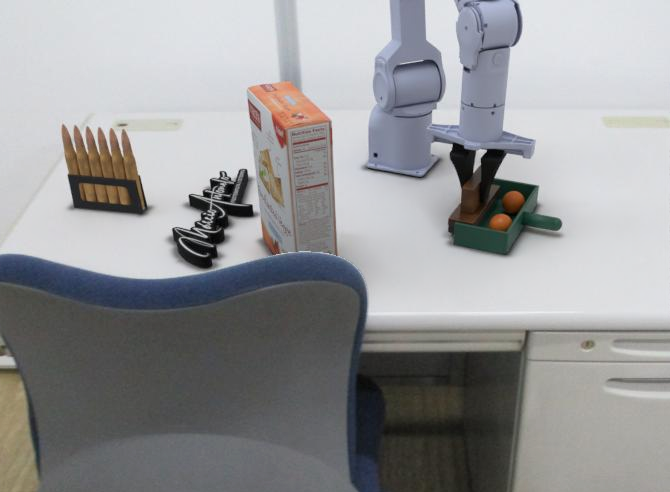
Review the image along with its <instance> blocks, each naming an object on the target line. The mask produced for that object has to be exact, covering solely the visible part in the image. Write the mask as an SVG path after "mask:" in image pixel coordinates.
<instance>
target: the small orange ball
mask: <svg viewBox="0 0 670 492" xmlns="http://www.w3.org/2000/svg"><path fill="white" fill-rule="evenodd" d="M511 224H512V220H511V218H510V217H509V216H507V215H505V214H497V215H495V216H494V217H493V218H492V219H491V220H490V223H489V229H493V230H499V231H504V232H507V231H508V229H509V227H510V226H511Z"/></svg>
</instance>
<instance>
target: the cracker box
mask: <svg viewBox="0 0 670 492" xmlns="http://www.w3.org/2000/svg"><path fill="white" fill-rule="evenodd" d="M246 96H247V106H248V113H249V114H248V117H249V125H250V131H251V141H252V151H253V159H254V169H255V177H256V178H255V179H256V186H257V187H256V188H257V196H258V205H259V206H258V207H259V213H260V214H259V215H260V224H261V233H262V239H263V241H264V243H265V244H266V245H267V247H268V248H269V250H270V251H271V253H272V254H273V256H275V255H276V254H281V253H288V252H299V251H311V252H323V253H329V254H333V255H336V256H338V238H337V236H338V235H337V216H336V215H337V214H336V213H337V212H336V211H337V210H336V191H335V189H336V188H335V169H334V168H335V165H334V144H333V143H334V141H333V140H334V139H333V124H332V123H333V122H332V119H331V118H330V117H329V116H328V115H327V114H326V113H325V112H323V111H322V110H321V109H320V108H319V107H318V106H317V105H316V104H315V103H314V102H313V101H311V100H310V98H308V97H307V96H306V95H305V94H304V93H303V92H302V91H301V90H300V89H299V88H298V87H296V86H295V85H294V84H293V82H291V81H290V80H285V81H280V82H274V83H273V82H272V83H262V84H257V85H252V86H249V87H246Z"/></svg>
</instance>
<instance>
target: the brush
mask: <svg viewBox="0 0 670 492" xmlns="http://www.w3.org/2000/svg"><path fill="white" fill-rule="evenodd" d="M480 187H481V164H480V165H478V167H477V168H476V169H475V171H473V174H472V176H471V177H470V178H469V179H468V181H467V182H466V183H465V184H464V186H463V187H462V190H461V192H460V193H461V194H460V203H459V204H458V205H457V207H456V208H455V209H454V210H453V211H452V213H451V214H449V215H450V216H448V218H447V233H450V234H451V233H452V234H454V228H455V223H456V222H457V223H462V224H467V225H473V226H478V227H480V226H481V225H482V223H483V222H484V220H485V219H486V218H487V216H488V215H489V213H490V212H491V211H492V209H493V208H494V206H495V205H496V203H497V202H498V200H499V193H500V186H498V185H493V184H492V185H491V188H490V192H489V196H488V199H487V200H486V202H485V203H479V194H480Z"/></svg>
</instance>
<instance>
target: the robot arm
mask: <svg viewBox="0 0 670 492" xmlns="http://www.w3.org/2000/svg"><path fill="white" fill-rule="evenodd" d="M453 1H454V3H455V6H456V8H457V12H458V17H457V20H456V21H455V32H456V38H457V43H458V47H459V48H458V49H459V51H458V59H459V63H460V64H461V65H462V74H461V75H462V77H461V91H460V105H459V106H460V108H459V123H458V124H438V123H433V111H434V110H435V111H436V110H437V109H438V103H440V102H441V101H442V100H443V98H444V95H445V93H446V88H447V78H446V72H445V70H444V66H443V58H442V52H441V51H440V49H438V48H437V47H436V46H435V45H433V44H432V43H431V42H430V41H428V39H427V24H426V23H427V22H426V0H389V15H390V17H389V18H390V32H391V33H390V34H391V39H390V41H389V42H388V43H387V44H386V45H385V46H384V47H383V48H382V49H381V50H380V51H379V52H378V53H377V54H376V55H375V57H374V73H373V74H374V75H373V78H372V90H373V92H372V93H373V96H374V99H375V102H376V103H377V104H375V105H374V106H373V108H372V109H371V112H370V114H369V118H368V119H369V120H368V125H367V127H368V129H367V130H368V131H367V132H368V133H367V134H368V135H367V137H368V138H367V139H368V141H367V142H368V143H367V144H368V147H367V148H368V163H367V164H366V168H367V169H368V168H369V169H372V170H373V169H374V170H379V171H384V172H390V173H396V174H401V175H406V176H413V177H419V178H421V177H424V176H425V175H426V174H427V173H428V171H429V170H430V169H431V168H432V167H433V166H434V164H435V163H436V162H437V161H438V160H439V159H440V156H439V155H438V154H432V153H431V152H432V144H434V143H441V144H447V145H452V147H451V150H450V151H449V160H450V162H451V163H452V165H453V168H454V169H455V171H456V175H457V178H458V181H459V185H460V189H461V191H462V187H463V186H464V184H465V183H466V182H467V181H468V179H469V178H470V177H471V176H472V174H473V173H474V168H475V162H476V156H477V151H479V150H485V152H484V153H483V155H482V156H481V157H480V165H481V187H480V194H479V203H485V202H486V200H487V199H488V196H489V192H490V188H491V185H492V183H493V180H494V178H496V175H497V173H498V171H499V169H500V167H501V165H502V163H503V161H504V160H505V158H506V156H507V154H509V155H515V156H521V157H522V158H523V159H526V160H531V159H532V158H533V156H534V155H535V149H536V142H537V141H536V139H534V138H528V137H524V136H521V135H518V134H515V133H511V132H509V131H506V130H504V120H505V109H506V100H507V99H506V98H507V90H508V80H509V79H508V78H509V68H510V56H511V48H513V47H515V46H517V45H518V43H519V42H520V40H521V37H522V34H523V23H524V22H523V14H522V13H523V12H522V10H521V5H520V3H519V1H518V0H453Z"/></svg>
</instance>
